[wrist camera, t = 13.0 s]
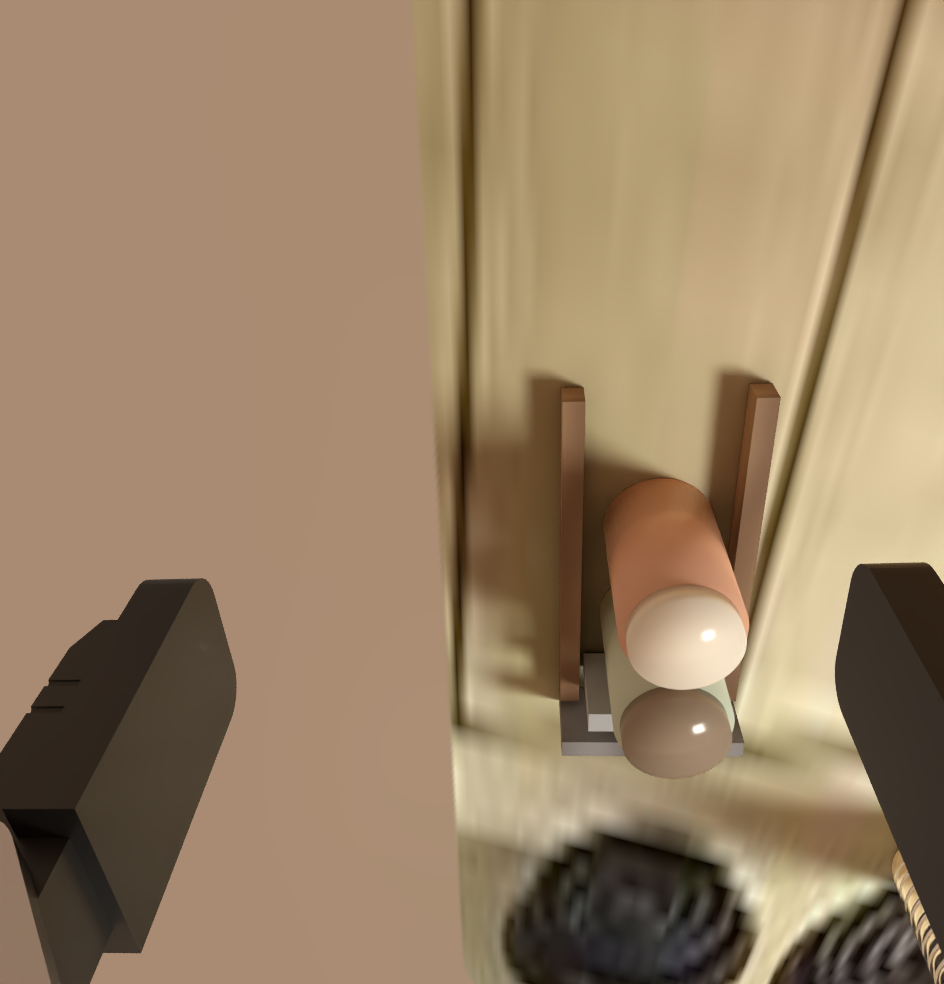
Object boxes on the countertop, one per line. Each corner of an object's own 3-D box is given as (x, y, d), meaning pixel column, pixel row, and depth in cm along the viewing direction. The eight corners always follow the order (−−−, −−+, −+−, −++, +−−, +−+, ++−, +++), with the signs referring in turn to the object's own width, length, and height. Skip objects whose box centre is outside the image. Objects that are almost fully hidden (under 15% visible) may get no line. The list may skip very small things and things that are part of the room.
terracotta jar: (692, 578, 45) (726, 705, 37) (590, 557, 45) (603, 681, 37) (729, 490, 42) (774, 608, 35) (621, 467, 42) (643, 581, 34)
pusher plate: (710, 653, 47) (727, 714, 44) (708, 669, 48) (724, 732, 44) (583, 653, 48) (588, 714, 44) (583, 669, 48) (588, 731, 45)
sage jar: (719, 583, 45) (759, 711, 38) (681, 659, 48) (711, 793, 40) (619, 559, 45) (639, 685, 37) (586, 637, 48) (598, 769, 40)
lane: (772, 383, 39) (795, 423, 36) (727, 701, 49) (742, 756, 46) (561, 387, 40) (564, 428, 37) (559, 701, 50) (561, 755, 47)
